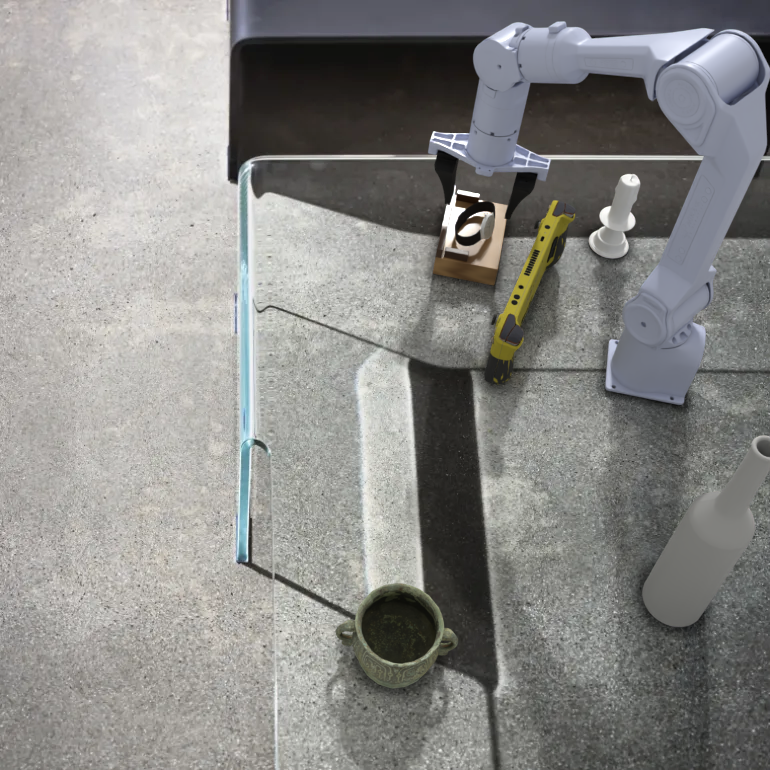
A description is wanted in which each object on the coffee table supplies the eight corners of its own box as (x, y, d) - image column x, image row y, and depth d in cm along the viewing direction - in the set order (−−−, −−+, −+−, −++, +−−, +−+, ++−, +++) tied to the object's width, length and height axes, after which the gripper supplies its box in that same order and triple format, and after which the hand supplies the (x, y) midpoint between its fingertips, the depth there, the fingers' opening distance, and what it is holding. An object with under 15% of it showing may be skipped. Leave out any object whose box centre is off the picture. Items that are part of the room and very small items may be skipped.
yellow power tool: (532, 247, 152) (548, 190, 144) (563, 257, 151) (580, 201, 143) (471, 386, 137) (484, 331, 129) (505, 398, 136) (520, 344, 128)
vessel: (453, 617, 118) (462, 588, 113) (452, 699, 113) (461, 672, 108) (336, 606, 118) (340, 576, 113) (329, 688, 112) (333, 661, 107)
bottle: (713, 590, 123) (815, 439, 101) (690, 638, 119) (791, 492, 97) (656, 560, 124) (744, 404, 102) (632, 606, 121) (718, 455, 99)
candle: (600, 224, 156) (623, 156, 146) (635, 242, 154) (660, 175, 145) (581, 246, 153) (603, 177, 143) (616, 265, 151) (641, 197, 142)
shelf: (505, 221, 154) (511, 196, 151) (494, 285, 147) (500, 261, 143) (446, 210, 155) (450, 185, 151) (432, 273, 147) (436, 248, 144)
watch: (476, 256, 146) (481, 236, 143) (443, 241, 147) (447, 220, 144) (502, 221, 150) (507, 200, 147) (470, 206, 151) (475, 185, 148)
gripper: (428, 127, 133) (415, 214, 143) (552, 157, 131) (529, 241, 142) (441, 91, 137) (428, 177, 148) (561, 119, 136) (539, 204, 146)
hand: (478, 206), depth 145 cm, fingers open, 7 cm apart
